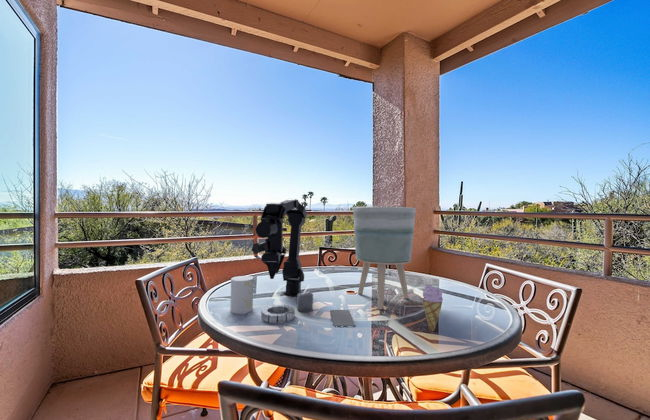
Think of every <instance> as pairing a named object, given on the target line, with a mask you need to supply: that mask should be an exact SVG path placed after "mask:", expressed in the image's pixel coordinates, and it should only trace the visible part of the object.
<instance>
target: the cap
mask: <svg viewBox="0 0 650 420" xmlns="http://www.w3.org/2000/svg"><path fill="white" fill-rule="evenodd" d="M296 297H297V298H296V299H297V300H296V301H297V302H296V305H297V306H296V309H297V310H296V311H297V312H300V313H311V312H312V311H314V310H313V309H314V308H313V307H314V301H313V300H314V293H312V292H311V291H301V293H298V294H297V296H296Z"/></svg>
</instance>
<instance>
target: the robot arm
mask: <svg viewBox="0 0 650 420" xmlns="http://www.w3.org/2000/svg"><path fill="white" fill-rule="evenodd" d="M307 214H308V213H307V209H306V208H305V205H303V204H302V203H301V202H300V201H299V200H298V199H297V198H288V199H286V200H282V201H280V202H266V205H265V206H264V208H263V211H262V214H261V217H260V222H259V223H258V224H257V225H256V227H255V233H256V235H257V236H258V237H259V238H262V239H265V241H263V242H261V243H259V242H254V243H253V244H252V246H251V252H253V255H258V254H260V253H262V252H264V253H263V254H262V255H261V260H260V261H261V262H262V263H263V264H264V265H266V266H267V267H266V268H267V270H268V274H269V278H270V280H273V279H275V276H276V274H278V273H279V271H280V269H281V267H282V263H283V268H282V279H283V281H286V282H285V283H286V284H285V292H283V294H284V295H287V296H290V297H297V294H298V293H301V292H302V291H301V290H302V289H301V288H302V285H301V284H302V282H304V281H305V274H304V271H303V267H302V263H301V261H300V247H301V246H300V245H301V234H302V227H303V226H304V224H305V223H306V218H307V216H308V215H307ZM285 216H287V221H288V224H289V225H290V234H289V235H290V236H289V248H288V256H287V257H288V258H287V259H286V261H284V259H285V257H286V254H287V248H286V247H285V246H283V241H284V237H283V230H284V229H283V227H284V225H283V223H285V221H284V219H285ZM283 261H284V262H283Z"/></svg>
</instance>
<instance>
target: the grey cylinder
mask: <svg viewBox="0 0 650 420" xmlns="http://www.w3.org/2000/svg"><path fill="white" fill-rule="evenodd" d="M253 299H254V277H253V276H250V275H239V276H233V277H231V278H230V313H232V314H239V315H240V314H247V313H250V312H252V311H253V309H254V307H253V305H254V303H253V302H254V300H253Z"/></svg>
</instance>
